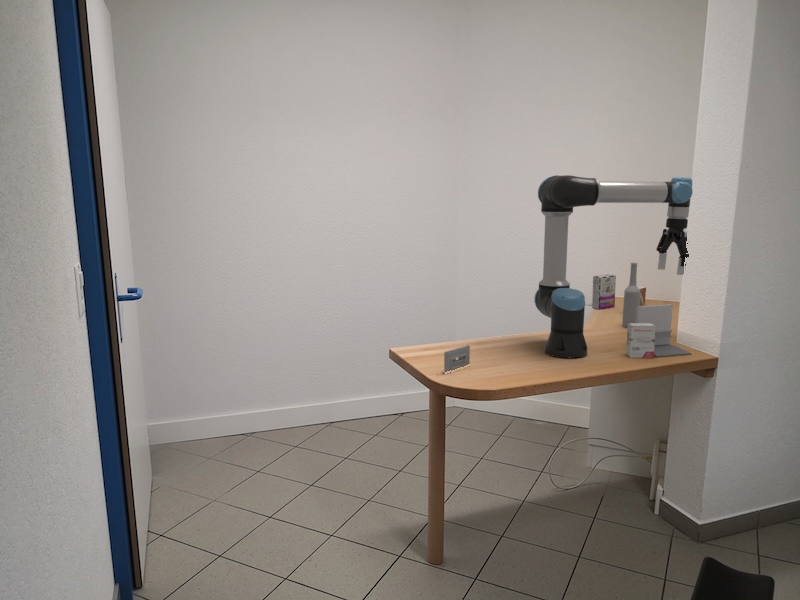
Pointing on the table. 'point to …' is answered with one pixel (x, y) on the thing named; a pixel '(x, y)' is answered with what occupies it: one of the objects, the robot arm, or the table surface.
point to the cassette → (451, 356)
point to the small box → (642, 295)
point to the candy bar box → (603, 291)
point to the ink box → (640, 340)
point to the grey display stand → (660, 328)
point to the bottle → (631, 299)
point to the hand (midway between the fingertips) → (670, 272)
